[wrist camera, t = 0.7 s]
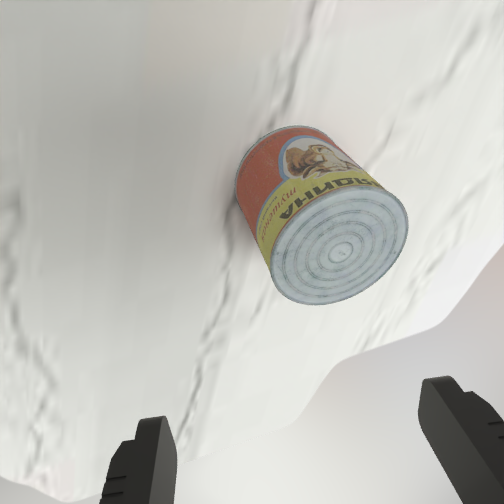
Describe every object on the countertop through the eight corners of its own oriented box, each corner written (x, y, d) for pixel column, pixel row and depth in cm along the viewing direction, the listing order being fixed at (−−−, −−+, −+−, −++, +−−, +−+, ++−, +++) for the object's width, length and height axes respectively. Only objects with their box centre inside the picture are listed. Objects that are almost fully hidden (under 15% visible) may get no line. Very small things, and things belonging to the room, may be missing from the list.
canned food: (347, 118, 35) (425, 175, 25) (334, 217, 42) (391, 290, 33) (230, 134, 33) (270, 201, 23) (238, 235, 40) (270, 317, 31)
